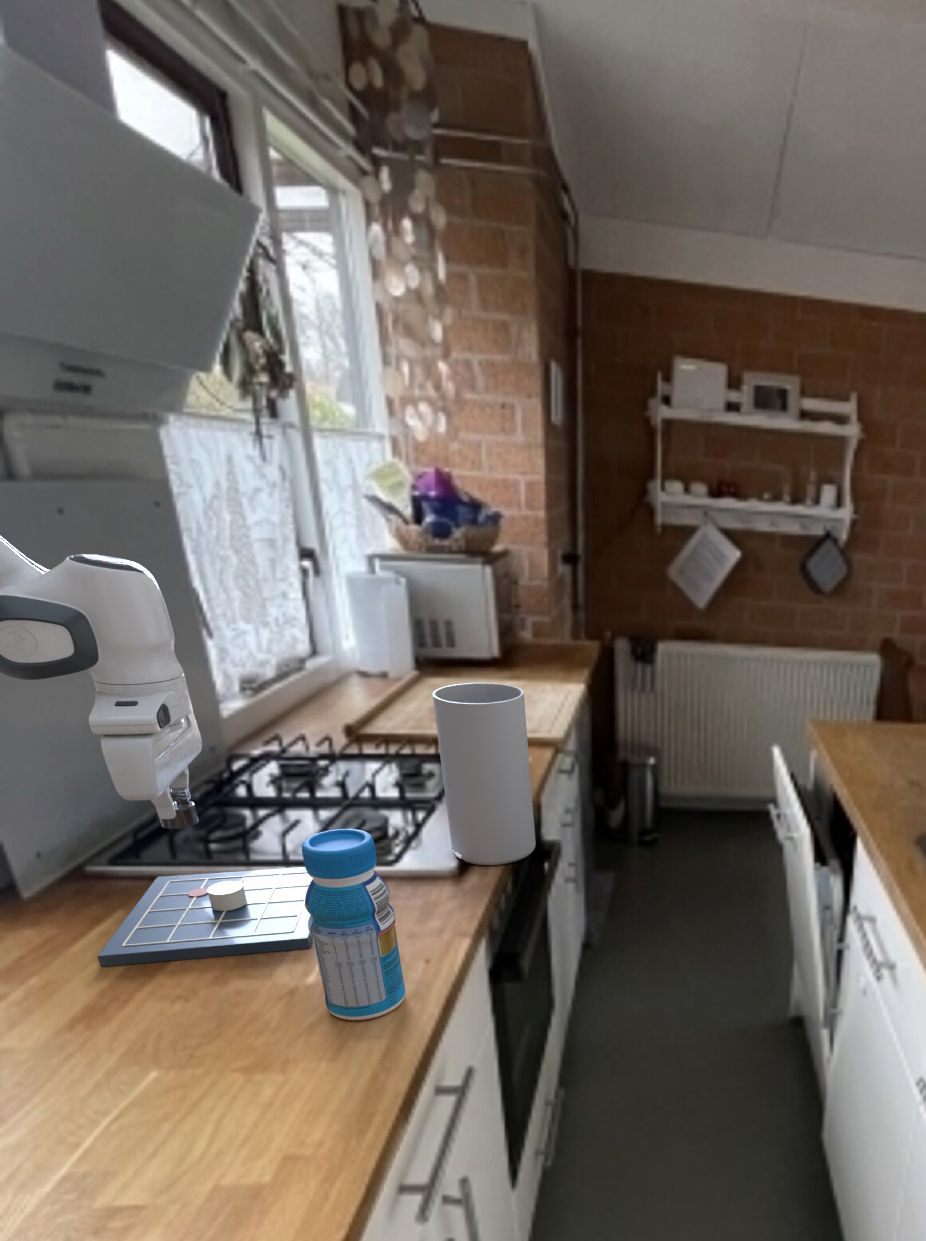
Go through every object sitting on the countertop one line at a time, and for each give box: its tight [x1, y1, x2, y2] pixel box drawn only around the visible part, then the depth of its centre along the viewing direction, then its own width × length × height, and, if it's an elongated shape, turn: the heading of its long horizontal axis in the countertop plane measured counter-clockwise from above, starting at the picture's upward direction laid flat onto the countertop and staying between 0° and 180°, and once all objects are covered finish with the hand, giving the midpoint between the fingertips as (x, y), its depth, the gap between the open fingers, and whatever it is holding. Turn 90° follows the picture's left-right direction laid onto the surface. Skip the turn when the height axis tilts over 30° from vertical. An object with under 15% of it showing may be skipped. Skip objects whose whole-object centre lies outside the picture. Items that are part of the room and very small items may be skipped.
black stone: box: [158, 800, 200, 830], centre depth 111 cm, size 4×4×2 cm
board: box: [97, 866, 313, 968], centre depth 115 cm, size 22×22×2 cm
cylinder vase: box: [432, 682, 537, 866], centre depth 133 cm, size 12×12×25 cm
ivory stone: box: [207, 881, 247, 911], centre depth 114 cm, size 4×4×2 cm
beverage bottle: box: [301, 828, 407, 1021], centre depth 95 cm, size 8×8×20 cm
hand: (175, 809), depth 111 cm, fingers closed on black stone, 4 cm apart
